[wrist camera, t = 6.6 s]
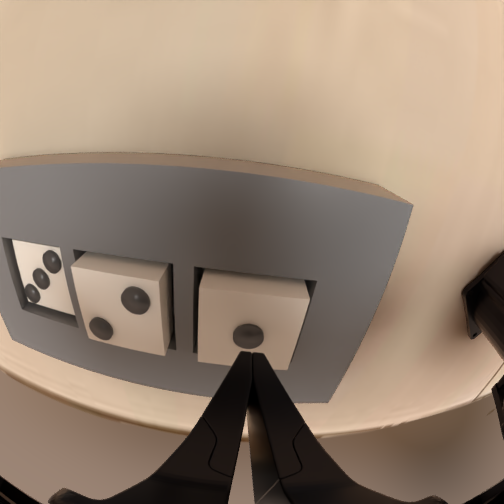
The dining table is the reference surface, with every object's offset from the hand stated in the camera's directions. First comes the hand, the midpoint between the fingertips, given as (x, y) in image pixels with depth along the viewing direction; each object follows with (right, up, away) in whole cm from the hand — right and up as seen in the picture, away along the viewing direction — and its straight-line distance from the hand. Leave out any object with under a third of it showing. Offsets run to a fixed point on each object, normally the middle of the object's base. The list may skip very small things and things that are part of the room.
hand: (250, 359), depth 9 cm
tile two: (-6, +2, +2) cm, 6 cm away
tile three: (-11, +3, +3) cm, 12 cm away
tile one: (0, +1, +3) cm, 3 cm away
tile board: (-6, +3, +5) cm, 8 cm away
